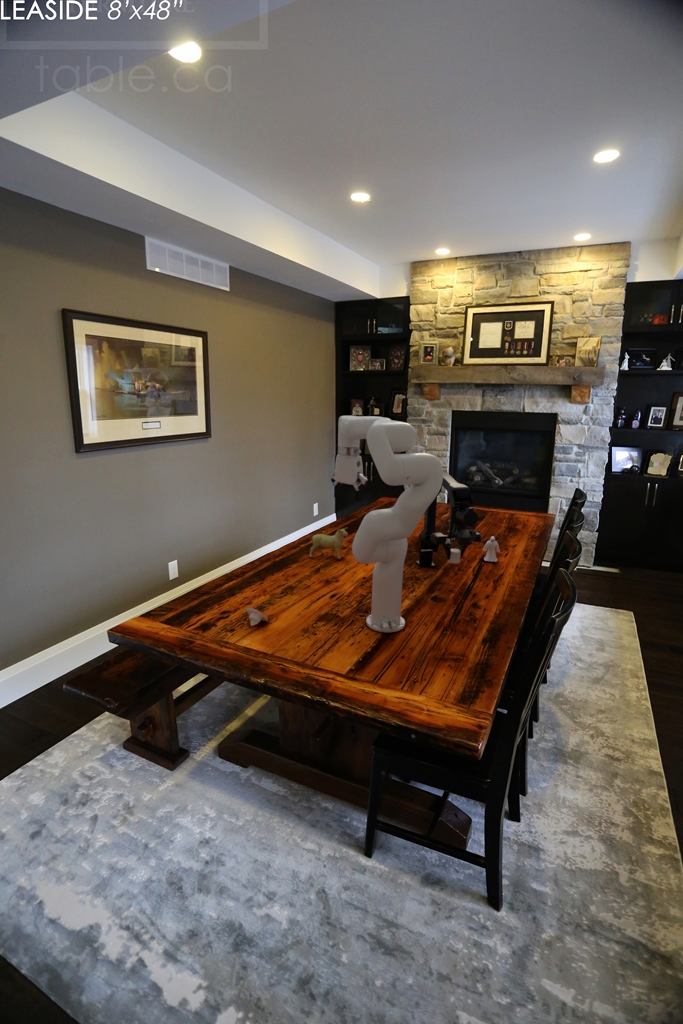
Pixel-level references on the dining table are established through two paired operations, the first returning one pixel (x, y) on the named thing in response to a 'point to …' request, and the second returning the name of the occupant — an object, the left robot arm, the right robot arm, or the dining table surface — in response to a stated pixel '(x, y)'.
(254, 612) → the seashell
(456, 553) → the canister
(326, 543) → the toy
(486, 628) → the dining table surface
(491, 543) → the figurine
